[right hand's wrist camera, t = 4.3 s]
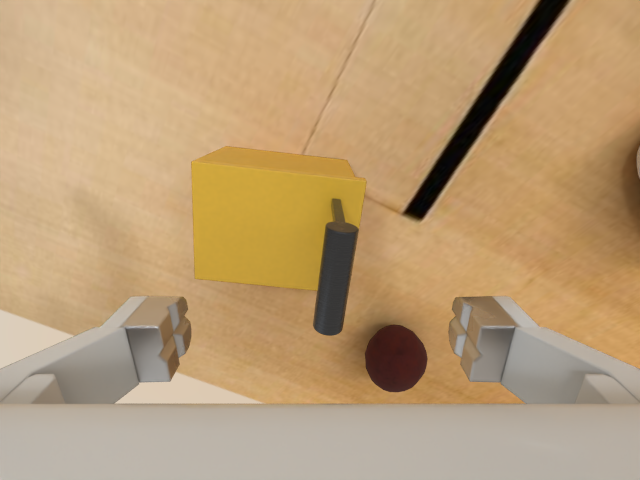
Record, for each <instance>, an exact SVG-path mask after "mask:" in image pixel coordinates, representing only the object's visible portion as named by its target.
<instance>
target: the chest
mask: <svg viewBox="0 0 640 480" xmlns="http://www.w3.org/2000/svg"><path fill="white" fill-rule="evenodd" d="M198 160H207V161H216V162H225V163H234V164H243V165H252V166H261V167H269V168H278V169H287V170H296V171H305V172H314V173H323V174H332V175H341V176H350V177H355V175H354V173H353V171H352V169H351V167H350V165H349V163H348V161H347V160H342V159H333V158H324V157H316V156H307V155H298V154H289V153H281V152H272V151H263V150H254V149H246V148H237V147H228V146H225V147H223V148H221V149H219V150H216V151H214V152H212V153H210V154H207V155H205V156H203V157H201V158H199V159H198Z"/></svg>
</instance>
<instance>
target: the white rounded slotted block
mask: <svg viewBox="0 0 640 480" xmlns="http://www.w3.org/2000/svg"><path fill="white" fill-rule="evenodd" d="M637 170H638V175H639V179H640V146H639V149H638V152H637Z"/></svg>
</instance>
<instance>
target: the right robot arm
mask: <svg viewBox="0 0 640 480" xmlns="http://www.w3.org/2000/svg"><path fill="white" fill-rule="evenodd" d="M187 310H188V307H187V302H186V299H185V298H184V297H167V296H133V297H130V298H129V299H128V300H127V301H126V302H125V303H124V304H123V305H122V306H121V307H120V308H119V309H118V310H117V311H116V312H115V313H114V314H113V315H112V316H111V317H110V318H109V319H108V320H107V321H106V322H105V323H104V324H103V325H102V326H101V327H94V328H92V329H89V330H87V331H85V332H83V333H80V334H78V335H76V336H74V337H71V338H69V339H67V340H65V341H62V342H60V343H58V344H56V345H53V346H51V347H49V348H47V349H44V350H42V351H40V352H37V353H35V354H33V355H31V356H28V357H26V358H24V359H22V360H19V361H17V362H15V363H13V364H10V365H8V366H6V367H4V368H1V369H0V480H640V369H638V368H636V367H634V366H632V365H629V364H627V363H625V362H623V361H620V360H618V359H616V358H614V357H611V356H609V355H607V354H605V353H602V352H600V351H598V350H596V349H593V348H591V347H589V346H587V345H584V344H582V343H580V342H578V341H575V340H573V339H571V338H569V337H566V336H564V335H562V334H560V333H557V332H555V331H553V330H551V329H548V328H546V327H539V326H538V325H537V324H536V323H535V322H534V321H533V320H532V319H531V318H530V317H529V316H528V315H527V314H526V313H525V312H524V311H523V310H522V309H521V308H520V307H519V306H518V305H517V304H516V303H515V302H514V301H513V300H512V299H511V298H510V297H508V296H486V297H456V298H455V300H454V302H453V306H452V310H453V312H454V314H455V315H456V316H455V317H454V318H453V319H452V320H451V321H450V324H449V341H450V345H451V348H452V350H453V351H454V353H455V354H456V355H458V356H459V357H461V363H460V365H461V366H462V368H463V370H464V372H465V374H466V375H467V377H468V379H469V381H470V382H501V384H502V385H503V386H504V387H505V388H507V389H508V390H509V391H511V392H512V393H513V394H514V395H516V396H517V397H518V398H520V399H521V400H522V401H523V402H525V403H526V404H114V403H115V402H117V401H118V400H119V399H121V398H122V397H123V396H124V395H126V394H127V393H128V392H130V391H131V390H132V389H133V388H135V387H136V386H137V385H138V384H139V382H169V381H171V379H172V377H173V375H174V374H175V372H176V370H177V368H178V366H179V365H180V363H179V357H181V356H182V355H184V354H185V353H186V351H187V349H188V348H189V345H190V340H191V324H190V321H189V320H188V319H187V318H186V317H185V316H184V315H185V314H186V312H187Z"/></svg>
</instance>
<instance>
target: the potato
mask: <svg viewBox="0 0 640 480" xmlns="http://www.w3.org/2000/svg"><path fill="white" fill-rule="evenodd" d="M365 359H366V369H367V371H368V373H369V375H370V378H371V380H372V381H373V382H374V383H375V384H376V385H377V386H379V387H380V388H382V389H383V390H385V391H389V392H401V391H405V390H408V389H410V388H412V387H413V386H414V385H415V384H416V383H417V382H418V381H419V379H420V378H421V377H422V375H423V374H424V372H425V369H426V365H427V354H426V350H425V348H424V345H423V343H422V342H421V341H420V340H419V338H418V337H417V336H416V335H415V334H414V332H413V331H411V330H409V329H407V328H405V327H403V326H400V325H390V326H386V327H384V328H382V329H380V330H379V331H378V332H377V333H376V334H375V335H374V336H373V337H372V339H371V340H370V341H369V344H368V346H367V349H366V352H365Z"/></svg>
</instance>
